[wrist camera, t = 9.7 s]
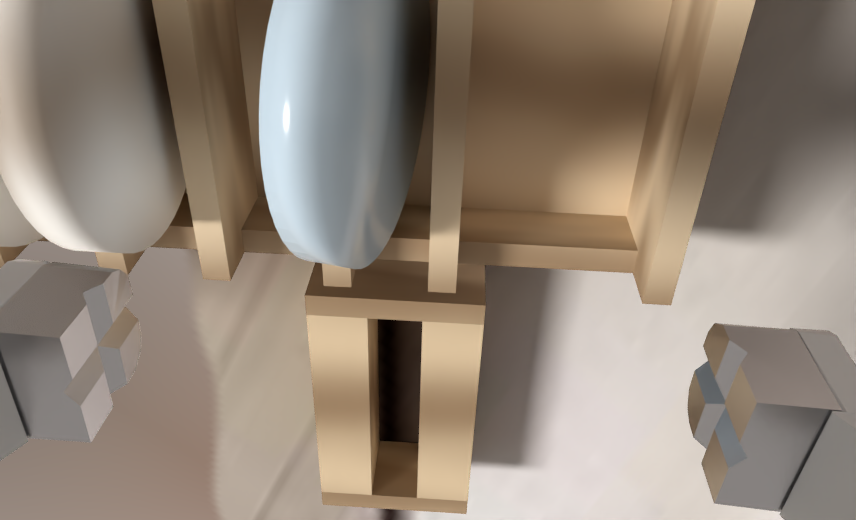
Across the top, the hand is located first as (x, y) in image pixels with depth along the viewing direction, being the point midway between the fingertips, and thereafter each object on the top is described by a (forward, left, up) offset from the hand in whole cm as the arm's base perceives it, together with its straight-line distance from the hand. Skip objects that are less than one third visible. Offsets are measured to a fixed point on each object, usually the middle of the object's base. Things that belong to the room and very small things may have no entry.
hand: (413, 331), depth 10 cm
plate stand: (-13, +1, -13) cm, 18 cm away
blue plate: (0, +1, -12) cm, 12 cm away
